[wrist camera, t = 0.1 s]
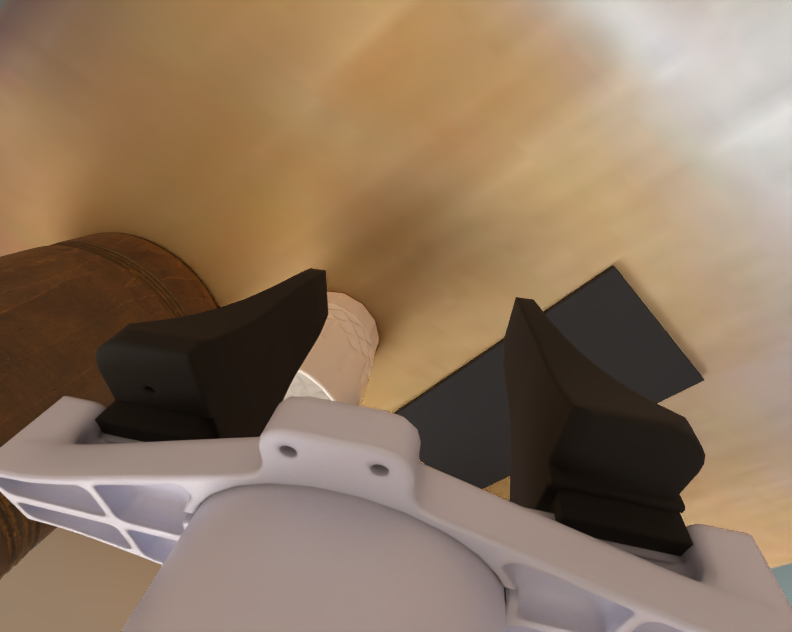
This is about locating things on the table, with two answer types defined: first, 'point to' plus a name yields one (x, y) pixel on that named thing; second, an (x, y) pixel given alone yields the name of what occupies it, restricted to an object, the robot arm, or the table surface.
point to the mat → (486, 388)
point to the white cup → (339, 354)
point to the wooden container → (74, 334)
